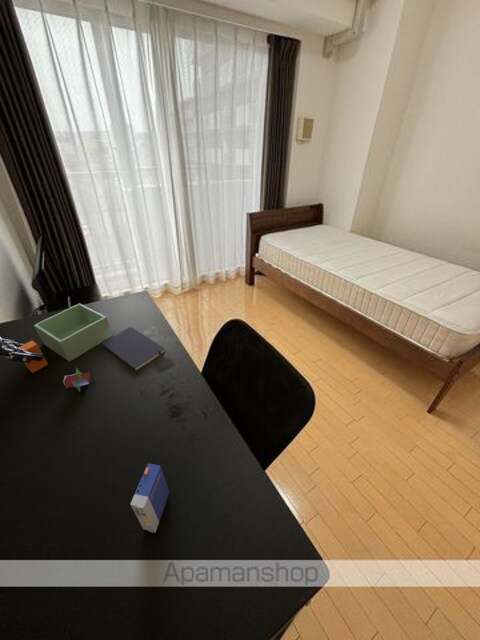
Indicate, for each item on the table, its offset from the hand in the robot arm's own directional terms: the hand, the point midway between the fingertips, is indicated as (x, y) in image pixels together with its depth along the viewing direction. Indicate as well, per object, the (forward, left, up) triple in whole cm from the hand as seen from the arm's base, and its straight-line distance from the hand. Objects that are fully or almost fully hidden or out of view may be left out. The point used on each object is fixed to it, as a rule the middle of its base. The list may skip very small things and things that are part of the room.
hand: (35, 353), depth 95 cm
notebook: (+20, +23, -5) cm, 31 cm away
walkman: (+67, -9, -5) cm, 68 cm away
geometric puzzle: (+21, +2, -5) cm, 22 cm away
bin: (-2, +15, -5) cm, 16 cm away
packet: (0, -1, -5) cm, 5 cm away
